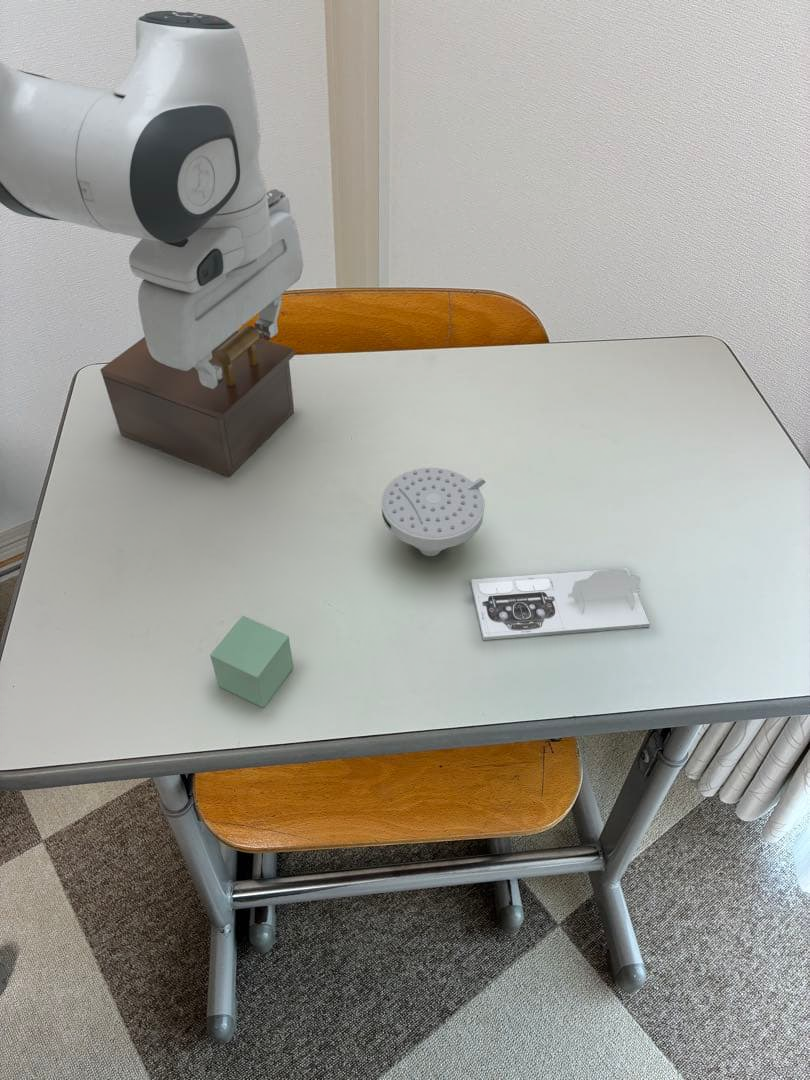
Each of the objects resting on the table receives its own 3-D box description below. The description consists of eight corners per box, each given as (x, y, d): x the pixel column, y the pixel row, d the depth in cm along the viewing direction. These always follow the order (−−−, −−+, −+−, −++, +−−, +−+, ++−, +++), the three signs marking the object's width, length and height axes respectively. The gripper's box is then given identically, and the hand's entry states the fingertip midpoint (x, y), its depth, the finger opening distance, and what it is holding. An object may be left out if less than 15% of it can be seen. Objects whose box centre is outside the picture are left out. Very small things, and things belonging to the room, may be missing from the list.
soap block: (263, 708, 65) (257, 677, 61) (218, 686, 66) (209, 655, 63) (293, 667, 67) (289, 635, 64) (249, 647, 69) (242, 615, 66)
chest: (294, 412, 91) (288, 354, 85) (229, 477, 83) (217, 418, 78) (191, 376, 96) (179, 318, 90) (120, 435, 88) (102, 376, 82)
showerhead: (510, 510, 71) (408, 544, 68) (501, 564, 76) (406, 597, 73) (461, 447, 76) (365, 475, 73) (456, 501, 82) (366, 529, 79)
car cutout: (626, 570, 76) (637, 538, 72) (648, 627, 71) (661, 595, 68) (470, 582, 74) (474, 549, 71) (482, 640, 70) (487, 608, 66)
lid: (294, 355, 85) (290, 313, 81) (224, 420, 77) (216, 377, 74) (179, 318, 90) (170, 276, 86) (102, 375, 82) (88, 332, 78)
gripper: (257, 175, 77) (272, 303, 87) (113, 266, 65) (150, 403, 75) (313, 188, 75) (321, 318, 86) (175, 285, 63) (205, 423, 73)
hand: (240, 359), depth 80 cm, fingers open, 8 cm apart
